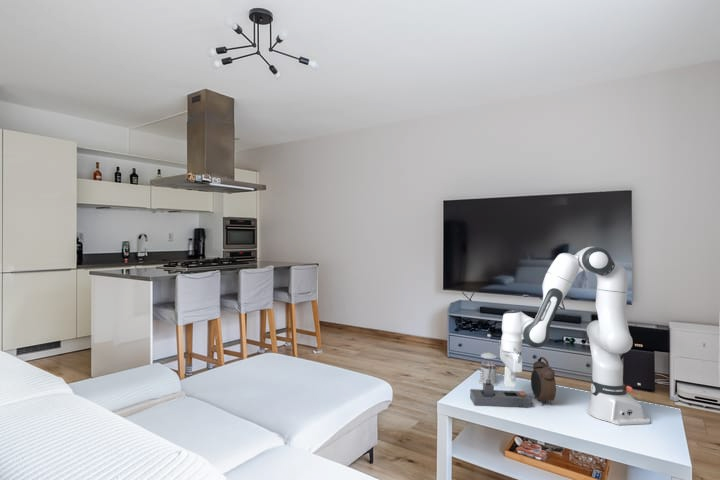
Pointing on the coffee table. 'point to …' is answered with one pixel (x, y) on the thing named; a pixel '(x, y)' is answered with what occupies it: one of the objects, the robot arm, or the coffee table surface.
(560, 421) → the coffee table surface
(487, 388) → the twin plug
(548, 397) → the alarm clock
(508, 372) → the white rectangular bottle
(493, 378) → the french press
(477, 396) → the strip
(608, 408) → the robot arm
